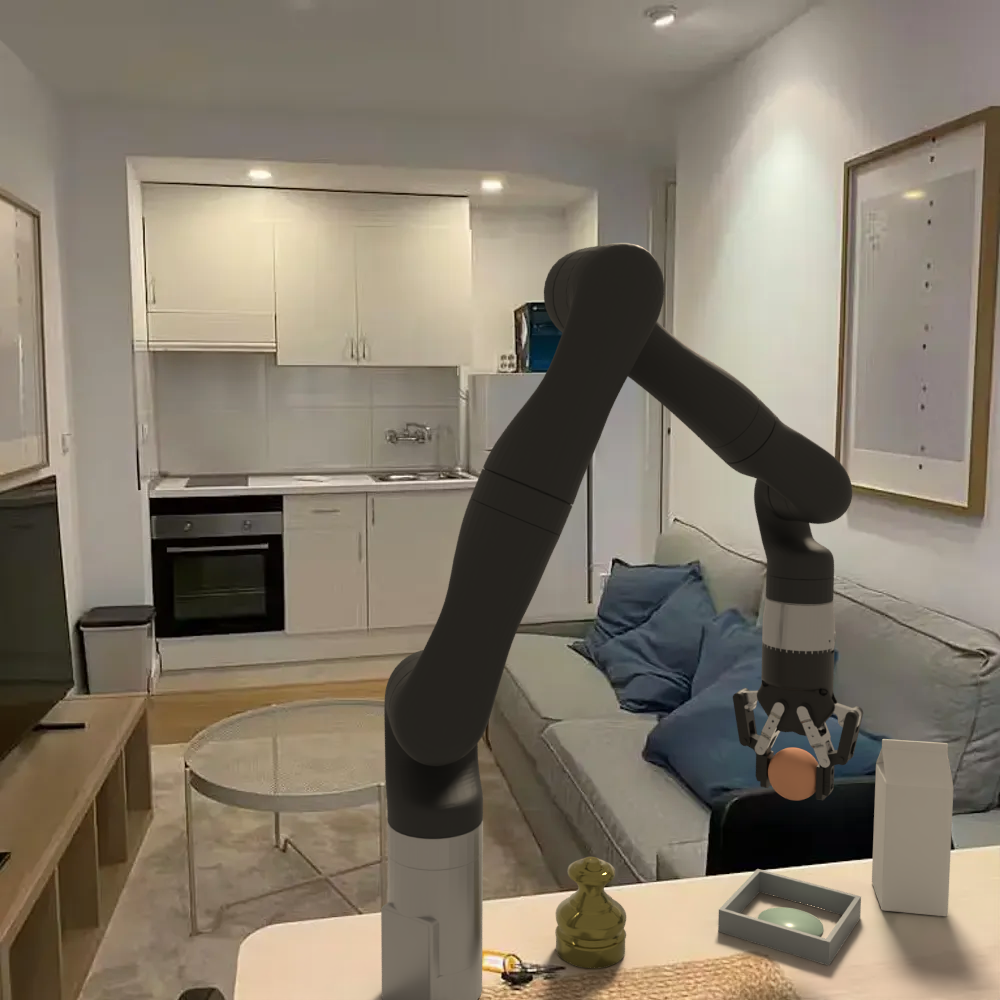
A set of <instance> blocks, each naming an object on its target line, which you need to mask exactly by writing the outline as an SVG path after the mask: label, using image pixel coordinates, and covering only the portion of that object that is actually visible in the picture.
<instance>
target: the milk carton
mask: <svg viewBox="0 0 1000 1000" xmlns="http://www.w3.org/2000/svg"><path fill="white" fill-rule="evenodd" d="M948 749H949V744H948V743H947V742H935V741H934V742H933V741H917V740H903V739H902V740H901V739H891V738H889V739H887V738H883V739H882V740H881V748H880V752H879V755H878V757H877V759H876V762H875V763H876V764H875V783H874V784H875V787H874V813H873V815H874V817H873V837H872V838H873V840H872V865H871V866H872V868H871V869H872V871H871V883H872V886H873V889H874V892H875V894H876V897H877V900H878V903H879V905H880V909H881V910H882V911H886V912H887V911H888V912H898V913H908V914H917V915H918V914H919V915H928V916H939V917H947V916H948V915H949V896H950V894H949V893H950V872H951V869H950V868H951V851H952V829H953V827H952V826H953V825H952V824H953V808H954V807H953V804H954V803H953V801H954V788H955V787H954V783H953V777H952V770H951V767H950V766H951V765H950V759H949V753H948V752H949V751H948Z"/></svg>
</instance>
